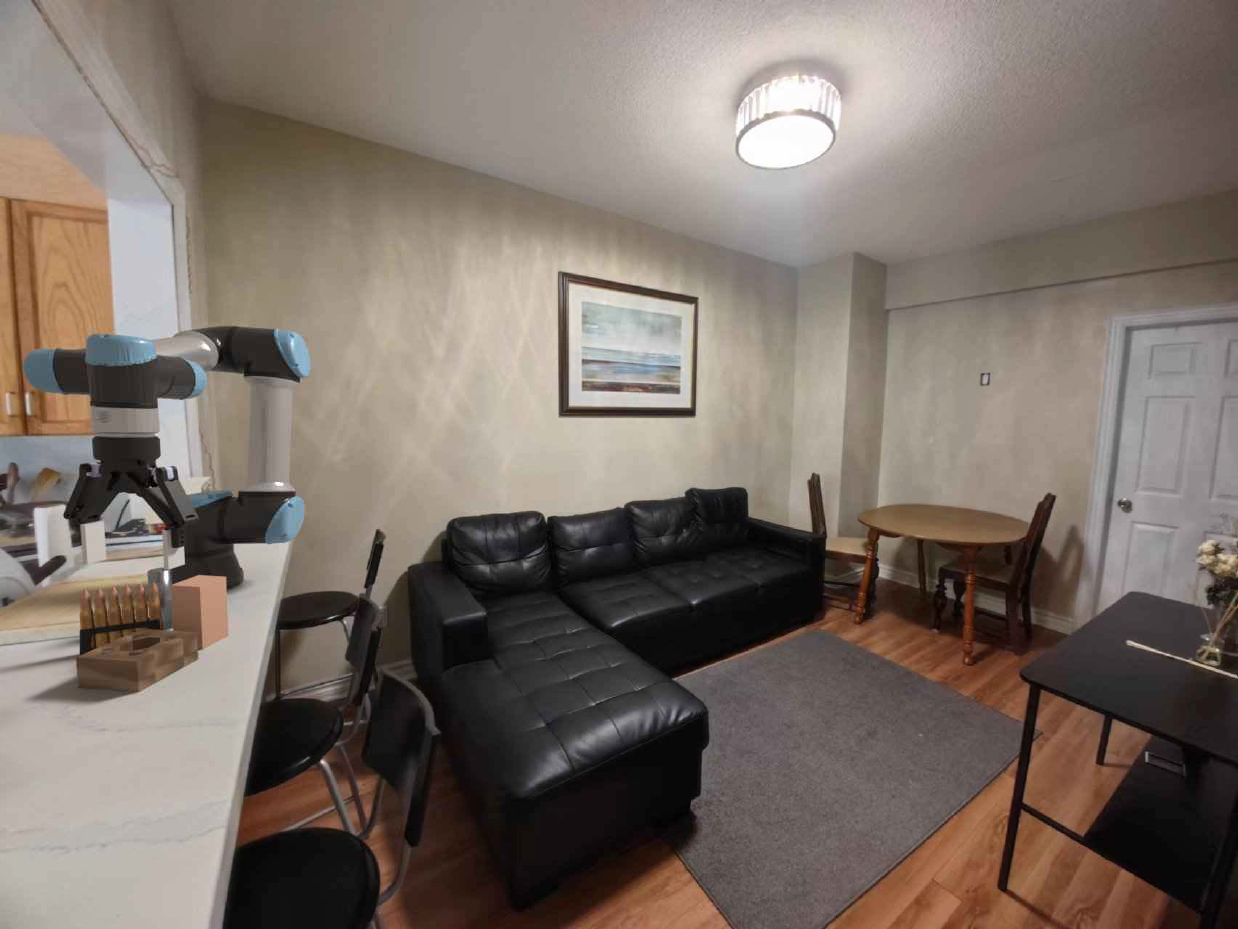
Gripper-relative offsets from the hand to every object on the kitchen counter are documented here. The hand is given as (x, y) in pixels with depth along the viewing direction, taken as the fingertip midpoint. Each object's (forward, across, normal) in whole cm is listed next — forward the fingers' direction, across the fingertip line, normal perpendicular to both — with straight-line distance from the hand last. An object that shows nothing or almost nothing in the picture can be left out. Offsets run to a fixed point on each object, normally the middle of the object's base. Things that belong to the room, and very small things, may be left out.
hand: (134, 564), depth 77 cm
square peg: (+19, 0, +11) cm, 22 cm away
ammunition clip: (+19, -11, +7) cm, 23 cm away
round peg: (+19, -12, +15) cm, 27 cm away
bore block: (+19, 0, 0) cm, 19 cm away
